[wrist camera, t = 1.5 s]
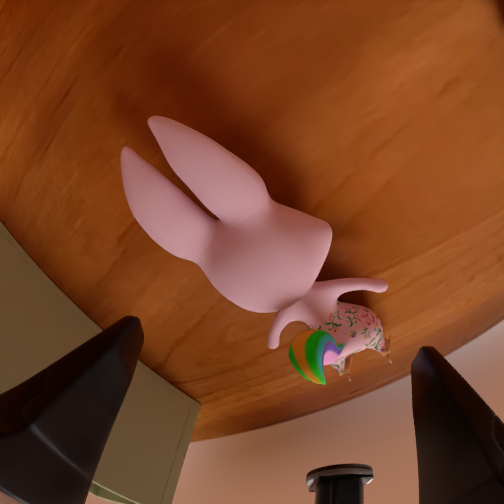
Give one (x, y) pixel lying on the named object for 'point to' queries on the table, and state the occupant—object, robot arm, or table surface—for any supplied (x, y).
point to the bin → (135, 402)
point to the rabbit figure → (251, 247)
